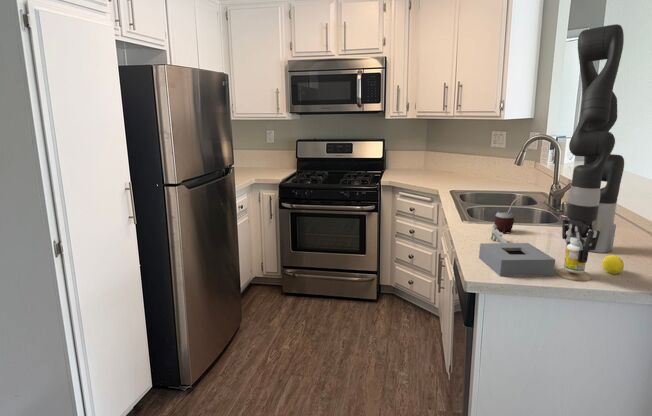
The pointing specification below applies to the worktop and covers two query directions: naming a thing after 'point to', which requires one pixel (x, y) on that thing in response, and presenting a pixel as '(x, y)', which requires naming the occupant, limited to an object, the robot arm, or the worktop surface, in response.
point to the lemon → (613, 264)
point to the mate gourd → (505, 220)
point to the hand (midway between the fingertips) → (575, 258)
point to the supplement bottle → (573, 257)
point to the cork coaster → (573, 275)
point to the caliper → (497, 235)
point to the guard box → (516, 259)
